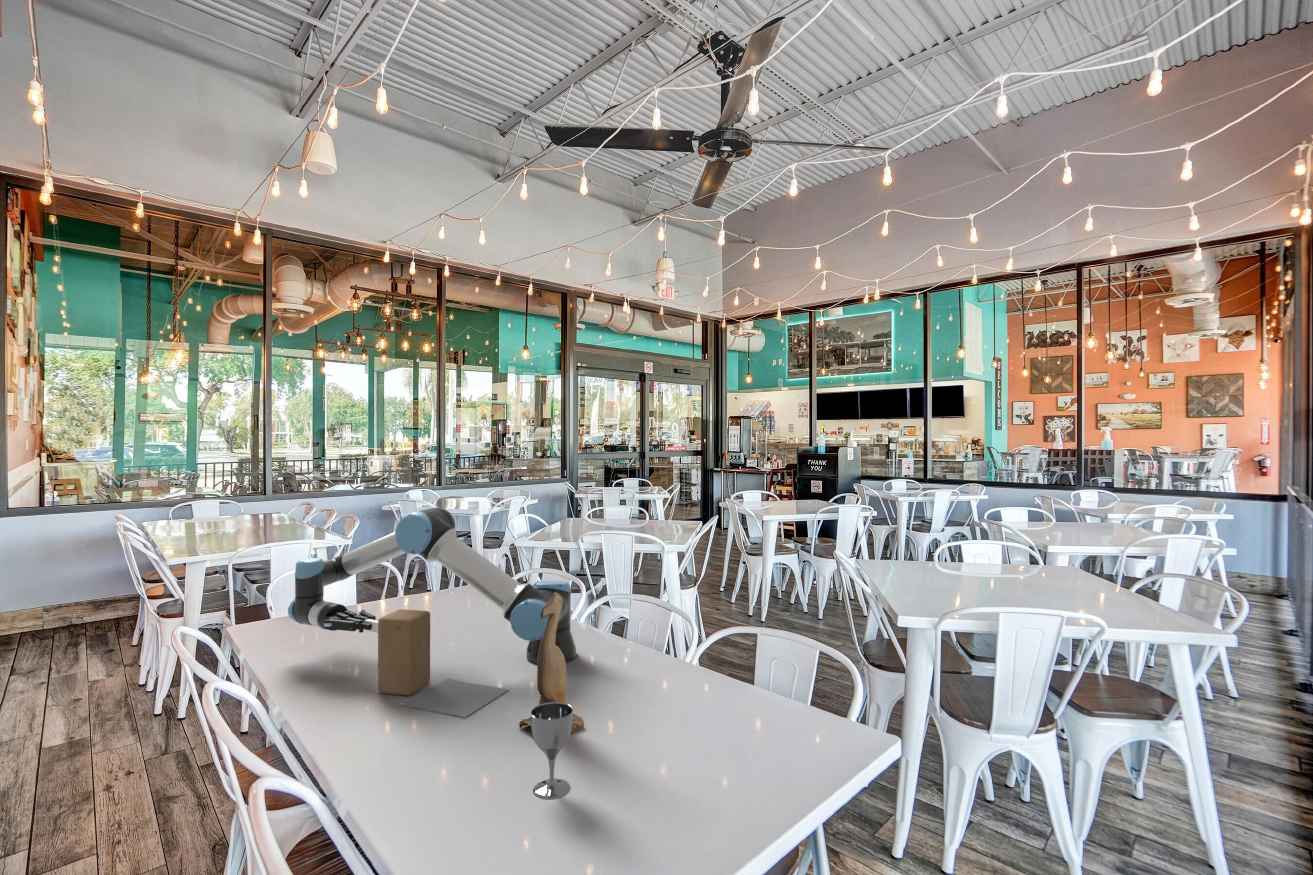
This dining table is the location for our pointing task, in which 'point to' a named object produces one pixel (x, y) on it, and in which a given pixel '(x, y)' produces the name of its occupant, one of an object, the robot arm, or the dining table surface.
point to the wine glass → (551, 743)
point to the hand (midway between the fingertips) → (381, 627)
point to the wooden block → (403, 652)
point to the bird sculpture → (552, 663)
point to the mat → (455, 698)
